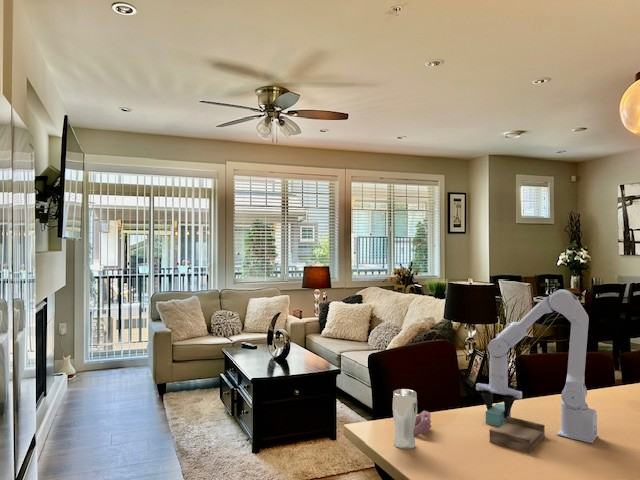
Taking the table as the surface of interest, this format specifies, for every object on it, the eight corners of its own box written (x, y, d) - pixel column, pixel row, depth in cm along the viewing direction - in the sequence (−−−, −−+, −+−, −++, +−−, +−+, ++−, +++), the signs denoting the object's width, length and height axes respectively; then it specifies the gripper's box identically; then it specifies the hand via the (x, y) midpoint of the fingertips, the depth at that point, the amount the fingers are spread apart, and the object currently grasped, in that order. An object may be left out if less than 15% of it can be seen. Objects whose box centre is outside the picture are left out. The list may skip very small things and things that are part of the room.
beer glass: (402, 451, 130) (402, 397, 131) (387, 442, 137) (387, 390, 137) (422, 447, 134) (422, 394, 134) (406, 438, 140) (407, 387, 140)
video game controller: (424, 442, 141) (434, 422, 140) (410, 434, 142) (421, 414, 141) (423, 430, 150) (433, 411, 150) (410, 422, 151) (420, 403, 151)
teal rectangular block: (510, 418, 158) (510, 406, 158) (499, 427, 150) (499, 414, 150) (497, 414, 161) (497, 403, 161) (485, 424, 153) (485, 411, 153)
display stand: (544, 436, 142) (544, 425, 142) (528, 452, 131) (528, 440, 131) (507, 427, 149) (507, 416, 149) (489, 441, 138) (489, 429, 138)
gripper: (472, 372, 157) (472, 413, 157) (516, 381, 148) (516, 424, 148) (480, 368, 163) (480, 408, 163) (524, 376, 153) (524, 418, 153)
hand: (498, 415), depth 155 cm, fingers open, 5 cm apart
